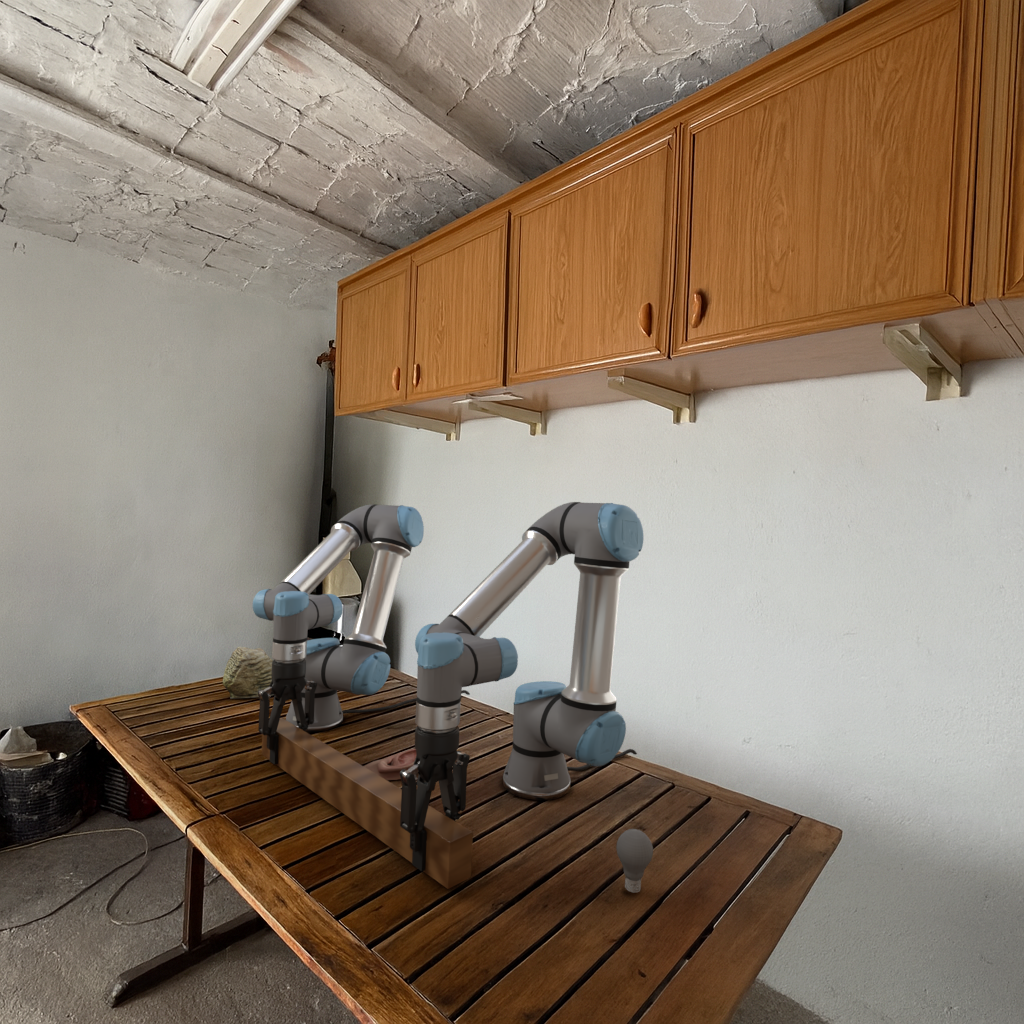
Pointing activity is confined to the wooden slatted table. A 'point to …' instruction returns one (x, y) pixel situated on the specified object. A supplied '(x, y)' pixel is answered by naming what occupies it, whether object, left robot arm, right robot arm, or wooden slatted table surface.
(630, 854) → the light bulb
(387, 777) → the anatomical model
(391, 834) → the bar
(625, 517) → the right robot arm
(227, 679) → the fossil
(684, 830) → the wooden slatted table surface
